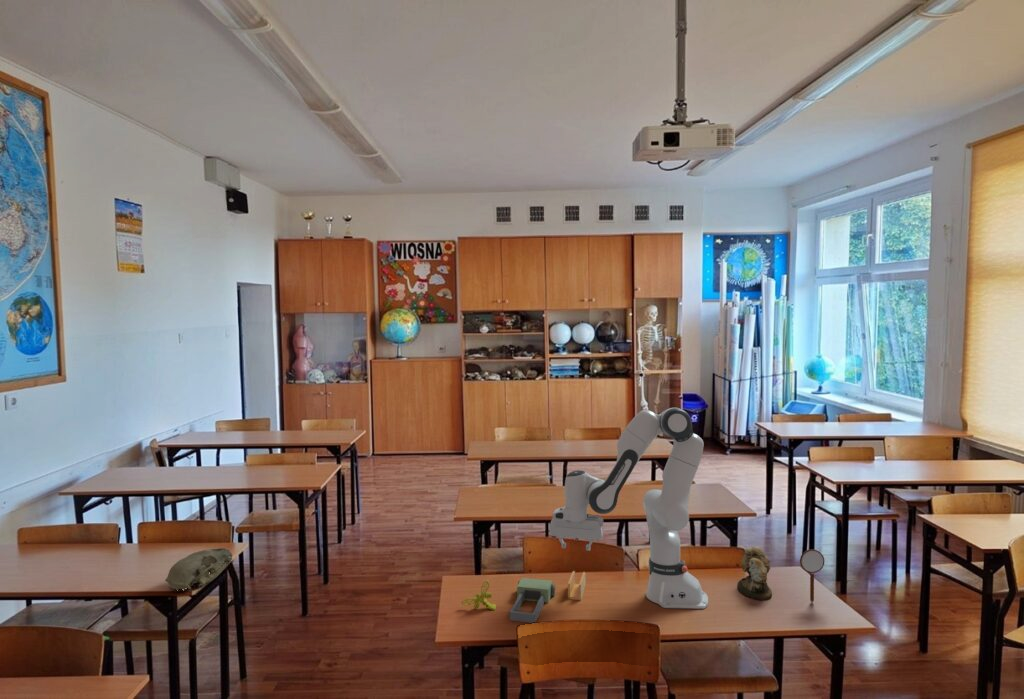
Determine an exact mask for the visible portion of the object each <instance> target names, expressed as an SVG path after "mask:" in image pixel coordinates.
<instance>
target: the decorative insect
mask: <svg viewBox="0 0 1024 699" xmlns="http://www.w3.org/2000/svg"><path fill="white" fill-rule="evenodd" d="M483 588H484V589H483ZM489 588H490V581H489V580H485V581H484V582H483V583H482V586H481V590H480V593H479V592H477V593H476V594H474V595H475V597H466V598H465V599H463V600H462V602H461V604H462V605H463V606H471V605H473V604H474V605H473V607H474V609H475V610H478V609H479V608H480V605H481V604H482V606H485V608H488V609H489V610H492V611H495V610H496V607H497V604H495V603H490V602H489V601H488V599H491V598H492V597H493V594H492V593H491V592H488V589H489ZM480 603H481V604H480Z"/></svg>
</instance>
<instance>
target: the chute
mask: <svg viewBox="0 0 1024 699" xmlns="http://www.w3.org/2000/svg"><path fill="white" fill-rule="evenodd" d="M586 581H587V580H586V572H585V571H583V572H582V575H581V578H580V581H579V583H576V571H575V570H573V571H572V572H571V574H570V577H569V580H568V582H567V599H568V600H573V601H574V600H576V601H582V599H583V596H584V592H585V590H586V587H587V586H586V585H587V584H586ZM585 586H586V587H585Z"/></svg>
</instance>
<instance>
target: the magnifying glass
mask: <svg viewBox="0 0 1024 699" xmlns="http://www.w3.org/2000/svg"><path fill="white" fill-rule="evenodd" d="M799 564H800V567H801V568H802V569H803V570H804V571H805V572H807V573H809V575H810V577H809V578H810V580H809V584H810V586H809V587H810V588H809V591H810V593H809V596H810V597H809V600H810V603H811V604H813V603H814V601H815V585H814V584H815V573H818V572H820V571H821V570H822V569H823V568H824V565H825V558H824V555H823V553H821V551H819V550H817V549H807V550H804V552H803V553H802V554H801V556H800V559H799Z"/></svg>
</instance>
